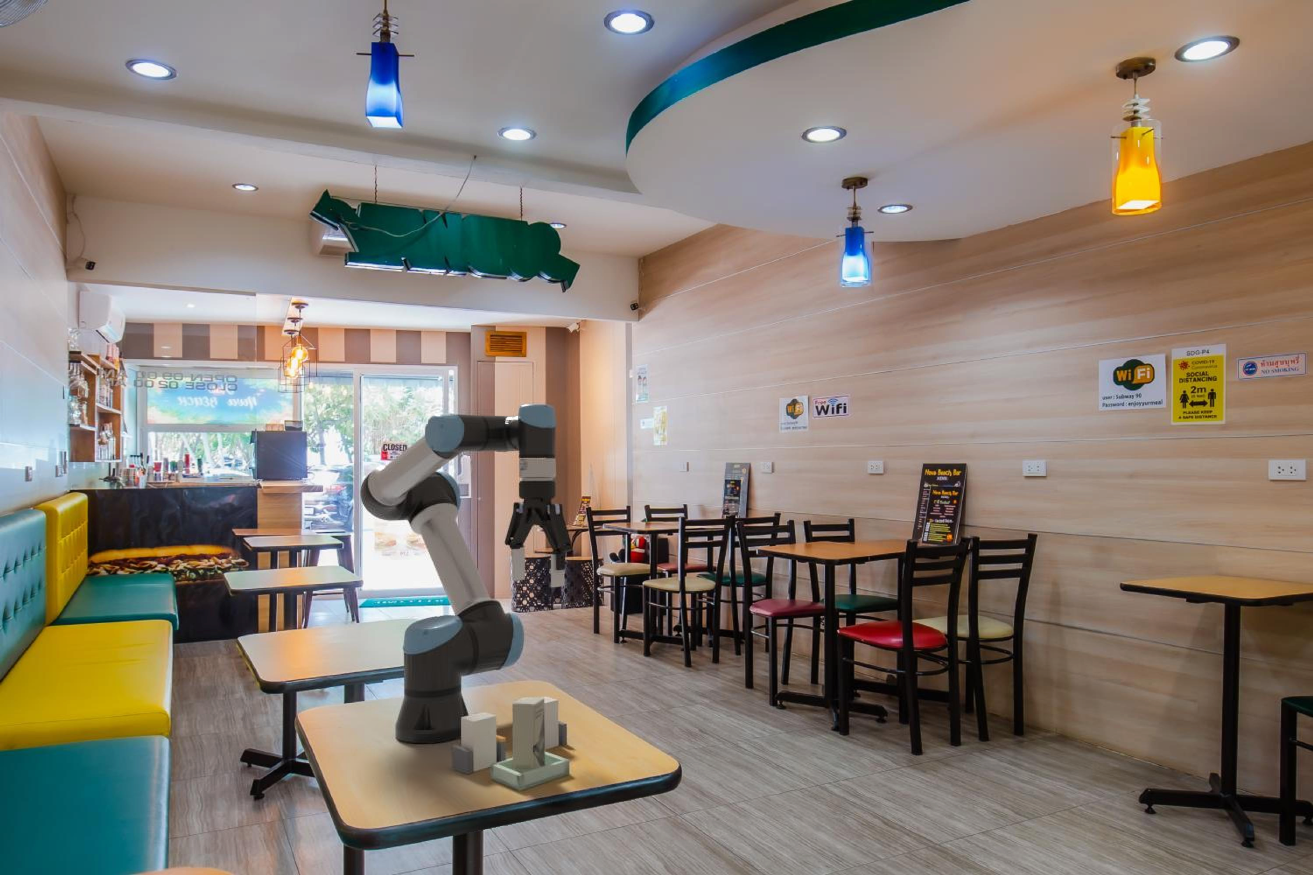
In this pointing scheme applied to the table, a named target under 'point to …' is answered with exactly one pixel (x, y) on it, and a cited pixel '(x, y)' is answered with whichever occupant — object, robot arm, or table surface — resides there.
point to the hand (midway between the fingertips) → (537, 583)
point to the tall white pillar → (551, 722)
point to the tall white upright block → (480, 739)
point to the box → (528, 734)
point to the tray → (529, 772)
